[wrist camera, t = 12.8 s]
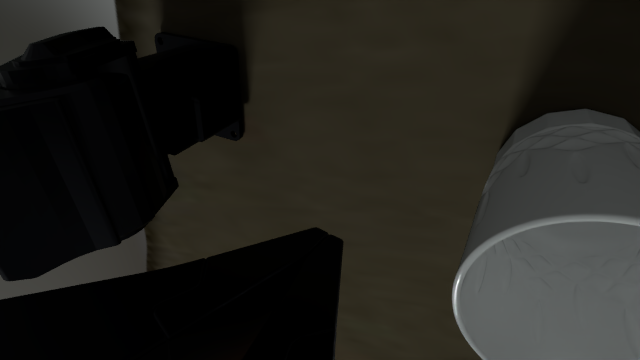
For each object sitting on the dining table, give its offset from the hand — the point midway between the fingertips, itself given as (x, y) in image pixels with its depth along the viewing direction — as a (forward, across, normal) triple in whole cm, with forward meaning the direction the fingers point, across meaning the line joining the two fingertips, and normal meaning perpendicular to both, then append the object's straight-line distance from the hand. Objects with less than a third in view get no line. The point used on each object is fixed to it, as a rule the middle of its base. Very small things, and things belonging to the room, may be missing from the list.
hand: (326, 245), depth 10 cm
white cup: (+13, +8, -1) cm, 15 cm away
